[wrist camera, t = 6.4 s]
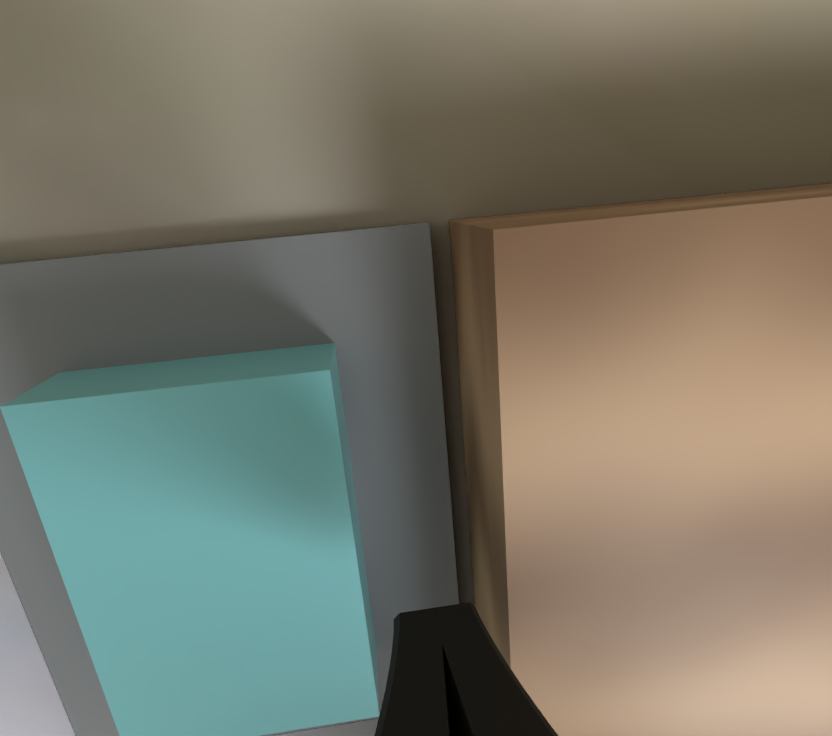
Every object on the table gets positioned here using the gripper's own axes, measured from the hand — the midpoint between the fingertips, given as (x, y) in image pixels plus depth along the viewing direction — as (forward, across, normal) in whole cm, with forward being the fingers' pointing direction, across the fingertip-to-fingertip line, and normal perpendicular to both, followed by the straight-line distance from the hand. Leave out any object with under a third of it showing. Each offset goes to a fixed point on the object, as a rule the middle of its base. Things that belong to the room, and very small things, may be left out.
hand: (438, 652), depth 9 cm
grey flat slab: (+5, +4, 0) cm, 7 cm away
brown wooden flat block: (+5, -10, 0) cm, 11 cm away
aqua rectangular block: (+2, +4, 0) cm, 5 cm away
